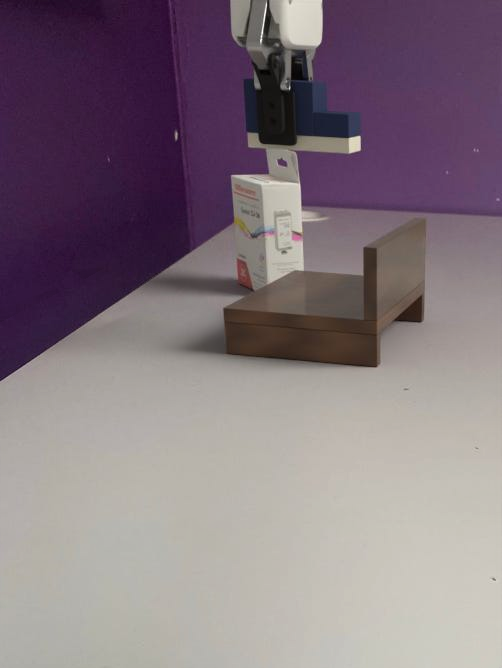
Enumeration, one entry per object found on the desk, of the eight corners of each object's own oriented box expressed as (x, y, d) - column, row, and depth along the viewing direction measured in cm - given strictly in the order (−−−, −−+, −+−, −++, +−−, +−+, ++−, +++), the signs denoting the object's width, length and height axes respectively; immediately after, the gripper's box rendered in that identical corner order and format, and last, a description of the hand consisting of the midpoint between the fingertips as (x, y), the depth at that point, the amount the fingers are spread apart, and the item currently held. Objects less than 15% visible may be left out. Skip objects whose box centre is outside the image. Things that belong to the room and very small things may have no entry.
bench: (226, 353, 93) (217, 235, 89) (296, 309, 111) (292, 208, 106) (377, 367, 92) (376, 248, 87) (424, 319, 109) (426, 218, 104)
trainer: (247, 147, 89) (242, 78, 86) (263, 144, 92) (259, 78, 90) (348, 153, 88) (347, 84, 85) (361, 150, 91) (360, 83, 88)
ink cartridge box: (235, 283, 121) (226, 144, 114) (274, 280, 123) (268, 144, 116) (266, 297, 115) (258, 151, 108) (306, 294, 117) (301, 151, 110)
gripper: (267, -103, 89) (278, 134, 98) (186, -136, 74) (208, 146, 83) (352, -100, 88) (355, 139, 97) (287, -133, 73) (298, 152, 82)
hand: (287, 140), depth 90 cm, fingers closed on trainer, 4 cm apart
